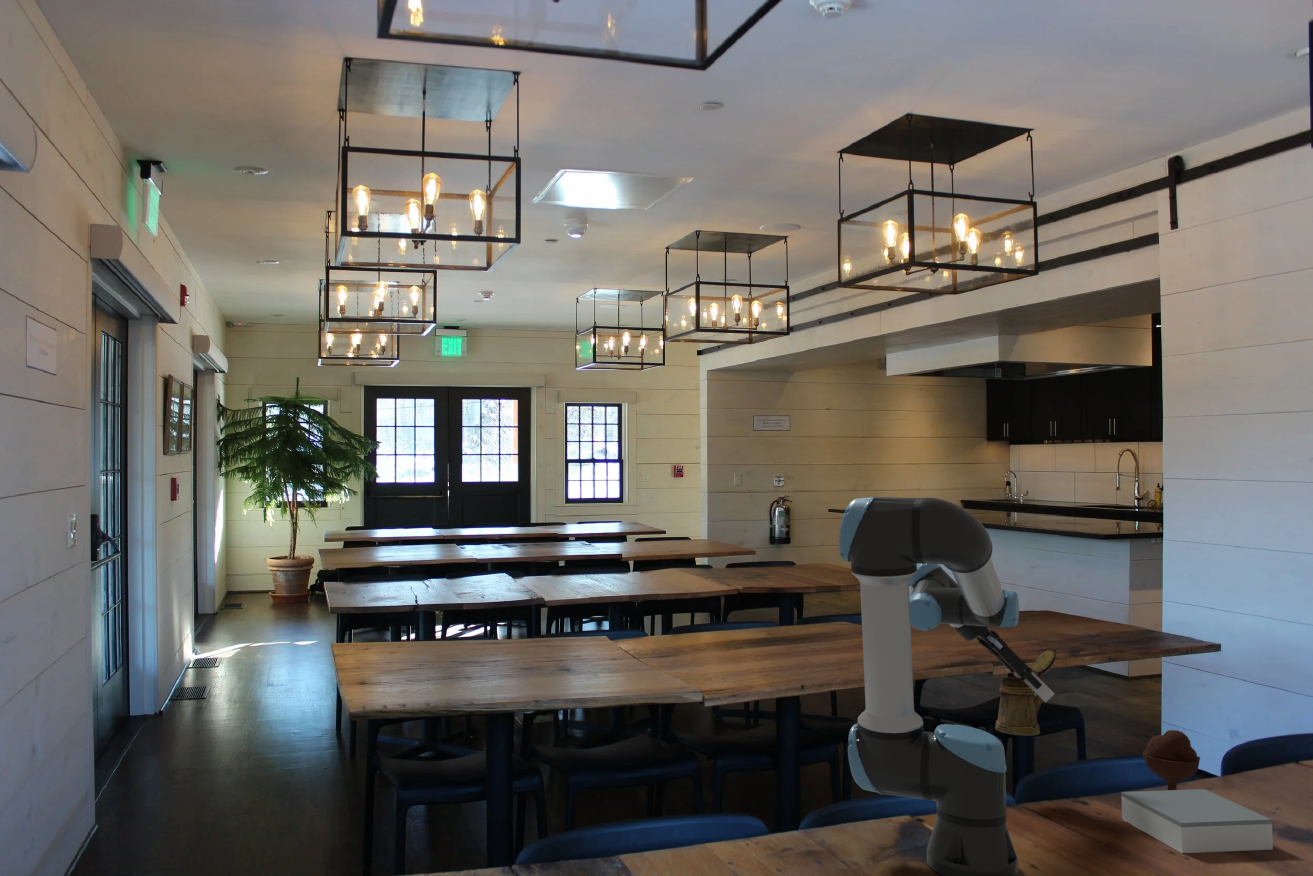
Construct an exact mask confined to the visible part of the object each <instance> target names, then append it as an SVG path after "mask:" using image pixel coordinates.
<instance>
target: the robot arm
mask: <svg viewBox="0 0 1313 876" xmlns="http://www.w3.org/2000/svg"><path fill="white" fill-rule="evenodd" d="M838 550H839V554H840V555H839V556H840V558H841V560H842V561H845V562H846V563H849V562H850V569H851V570H850V573H851V574H852V575H853V576H854V577H855V578H856V579H857V580H858V582H860V583H859V585H860V602H861V603H860V607H861V608H860V609H861V630H862V631H861V632H862V653H863V655H862V656H863V673H864V674H863V676H864V677H863V679H864V681H863V682H864V697H865V698H864V699H865V709H864V711H862V712H861V714H859V715H858V717H857V723H855V724H853V725H852V726H851V728H850V730H849V733H848V746H847V756H848V764H849V768H850V769H849V770H850V773H851V776H852V777H853V781H854V782H855V783H856V784H857V786H859V788H860V789H862V790H864V791H867V792H868V791H869V792H872V793H873V792H874V793H877V794H879V795H882V796H884V795H889V796H898V797H903V798H911V799H918V800H925V801H931V802H932V801H933V802H935V803H936V819H935V823H934V824H933V827H932V830H931V831H932V832H931V834H930V837H929V841H928V844H927V848H926V863H927V865H928V866H929V868H930V870H933V871H934V872H936V873H938V874H939V875H941V876H1018V874H1019V859H1018V855H1017V853H1016V849H1015V847H1014V843H1013V841H1012V838H1011V835H1010V832H1009V829H1008V826H1007V791H1006V790H1007V788H1006V786H1007V785H1006V783H1007V782H1006V772H1007V767H1008V766H1007V764H1006V755H1005V754H1006V753H1005V748H1004V745H1003V743H1002V741H1001V740H1000V739H999V738H998V737H996V736H995V735H993V734H991V733H990V732H988V731H984V730H982V729H979V728H975V727H971V726H967V725H963V724H950V723H944V724H943V723H942V724H939V725H938V726H936V728H935V729H934V730H933V731H934V732H931V731H924V721H923V718H922V717H921V716H920V715H919V714H918V713H917V712H916V711H915V703H914V681H913V680H914V679H913V678H914V675H913V653H912V651H913V649H912V631H911V630H912V628H911V627H913V628H915V629H916V630H919V631H923V632H924V631H925V632H927V631H930V630H933V629H935V628H937V626H939V625H940V624H944V625H945V624H946V625H949V626H950V627H952V628H955V632H957V633H958V634H959V635H960V636H961V637H962V638H963V639H964V640H965V641H967V642H970V641H973V640H975V639H976V640H977V642H978V644H980V646H982V647H983V648H985V649H986V650H987V651H988V652H989V653H991V655H993V656H994V657H995V658H996V659H997V660H998V661H999V662H1000V663H1001V664H1002V665H1003V666H1004V668H1005V669H1006V670H1007V669H1008V670H1009V672H1010V673H1011V674H1013V675H1014V677H1016V678H1021V679H1020V681H1021V682H1023V681H1024V682H1025V683H1026V684H1027V685H1028V686H1029V687H1030V688H1031V689H1032V690H1033V691H1034V692H1035V693H1034V694H1033V696H1034V697H1036V696H1037V695H1038V696H1039V697H1040V698H1041V699H1042V700H1043V701H1042V702H1044V703H1047V702H1048V701H1049V700H1050V699H1051V698H1052V697H1053V696H1054V695H1055V692H1054V691H1052V689H1051V688H1050V687H1049V686H1048V685H1047V684H1046V683H1045V684H1044V683H1043V682H1042V681H1041V680H1040V679H1039V678H1038V677H1037V676H1036V675H1035V674H1034V673H1033V669H1032V668H1031V667H1029V665H1028V664H1027V663H1026V662H1024V661H1023V659H1021V658H1020V657H1019V656H1018V655H1017V654H1016V653H1015V651H1013V650H1012V649H1011V648H1010V647H1009V646H1008V644H1007V643H1006V642H1005V641H1004V640H1003V638H1001V637H1000V635H999V634H998V633H997V632H996V631H995V630H992V629H990V630H989V629H988V628H989V627H990V628H999V629H1001V628H1015V627H1016V626H1017V625H1018V623H1019V617H1020V605H1019V604H1020V603H1019V601H1020V600H1019V596H1018V593H1017V592H1016V591H1015V590H1008V589H1007V590H1006V589H1003V588H1002V585H1001V583H1000V580H999V576H998V573H997V570H996V567H995V565H994V563H993V559H992V554H993V542H992V539H991V537H990V534H989V532H988V530H987V529H986V527H985V526H984V525H983V523H982V522H981V521H980V520H979V519H978V518H977V517H975V516H974V515H973V514H972V513H970V512H969V511H968V510H966V509H965V508H963V507H961V506H959V505H958V504H956V503H953V502H951V501H948V500H945V499H941V498H936V497H896V496H895V497H893V496H892V497H891V496H889V497H888V496H887V497H885V496H884V497H883V496H871V497H857V498H855V499H853V500H851V501H850V502H849V503H848V504H847V506H846V508H845V510H844V513H843V515H842V518H841V523H840V528H839V535H838ZM941 565H943V566H944V567H945V568H946V569H948V570H949V571H950V572H951V574H952V575H953V578H954V579H955V580H954V579H953V578H952V577H951V576H950V575H949V573H947V572H946V570H945V569H943V567H942V566H941ZM910 588H912V592H911V593H910Z"/></svg>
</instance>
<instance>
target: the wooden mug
mask: <svg viewBox="0 0 1313 876" xmlns="http://www.w3.org/2000/svg"><path fill="white" fill-rule="evenodd" d="M1056 659H1057V651H1056V648H1055V647H1052V648H1050V649H1047V650H1045V651H1044V652H1042V653H1041V654H1040V655H1039V656H1038V657H1037V658H1036V659H1035V662H1034V665H1033V669H1032V670H1033V671H1032V672H1033V673H1034V674H1035V675H1036V676H1037V677H1038V678H1039V679H1040V680H1041V681H1042V682H1043V683H1044V684H1046V683H1045V680H1044V677H1043V675H1045V674H1046V673H1048V671H1049V670H1050V669H1051V668H1052V667H1053V665H1054V664H1055V662H1056ZM1020 679H1021V678H1017V677H1016V676H1004V677H1002V680H1001V681H1002V682H1001V684H1000V686H999V692H1000V697H999V698H1000V699H999V706H998V707H999V708H998V715H997V720H996V722H995V727H994V728H995V731H997V732H999V733H1003V734H1008V735H1012V736H1022V737H1023V736H1024V737H1025V736H1026V737H1027V736H1028V737H1029V736H1031V737H1032V736H1037V735H1038V736H1039V734H1040V733H1041V730H1040V724H1039V723H1038V721H1037V720H1038V719H1037V718H1038V717H1037V716H1038V713H1039V709H1040V707H1041V704H1042V703H1043V702H1044V701H1043V700H1042V699H1041V698H1040V697H1039V696H1038V695H1037V696H1035V695H1034V693H1035V692H1034V691H1033V690H1032V689H1031V688H1030V687H1029V686H1028V685H1027V684H1026V683H1025V682H1024V681H1023V682H1021V681H1020Z"/></svg>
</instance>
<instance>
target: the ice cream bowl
mask: <svg viewBox="0 0 1313 876" xmlns="http://www.w3.org/2000/svg"><path fill="white" fill-rule="evenodd" d="M1142 757H1143V760H1144V763H1145V765H1146V767H1147V768H1148V770H1150V771H1151V772H1152V773H1153V774H1154V775H1156V776H1157V777H1158V778H1160V779H1162V780H1165V782H1166V784H1167V790H1178V789H1177V788H1178V787H1177V785H1178V783H1179V782H1184V781H1186V780H1188V779H1190V778H1191V777H1192V776H1194V775H1196V773H1197V771H1198V769H1199V766H1200V760H1201V757H1200V756H1198V755H1197V751H1196V750H1195V749H1194V748H1193V747H1192V744H1191V739H1190V738H1189V737H1188V736H1187V734H1185V733H1184V732H1183V731H1180V730H1175V729H1169V730H1167V731H1165V733H1163V735H1162V734H1158V735H1154V736H1152V737H1151V738H1150V739H1149V740H1148V741H1147V745H1146V749H1144V750H1143V751H1142Z"/></svg>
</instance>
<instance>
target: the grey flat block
mask: <svg viewBox="0 0 1313 876" xmlns="http://www.w3.org/2000/svg"><path fill="white" fill-rule="evenodd" d="M1120 793H1121V819H1122V821H1124V822H1126V823H1127V822H1128V823H1127V824H1129V823H1130V824H1129V825H1131V826H1133V827H1134V828H1137V829H1138V830H1140V831H1142V832H1144V833H1146V834H1147V835H1149V836H1150V837H1152V838H1155V840H1157V841H1159V842H1161V843H1163V844H1164V845H1167V846H1168V847H1170V848H1172V849H1173V850H1175V851H1177V852H1179V853H1180V854H1193V853H1194V854H1195V853H1196V854H1197V853H1200V854H1201V853H1221V852H1241V851H1244V852H1245V851H1266V850H1267V851H1268V850H1271V851H1272V850H1273V849H1274V846H1273V845H1274V844H1273V843H1274V842H1273V839H1274V838H1273V819H1271V818H1269V817H1268V816H1265V815H1263V814H1260V813H1258V812H1256V811H1254V810H1252V809H1250V808H1247V807H1245V806H1243V805H1241V804H1238V803H1236V802H1234V801H1232V800H1229V799H1227V798H1225V797H1222V796H1220V795H1219V794H1216V793H1214V792H1212V791H1209V790H1207V789H1205V788H1202V789H1201V788H1200V789H1177V790H1168V789H1167V790H1142V791H1141V790H1140V791H1139V790H1138V791H1121V792H1120Z"/></svg>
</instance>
